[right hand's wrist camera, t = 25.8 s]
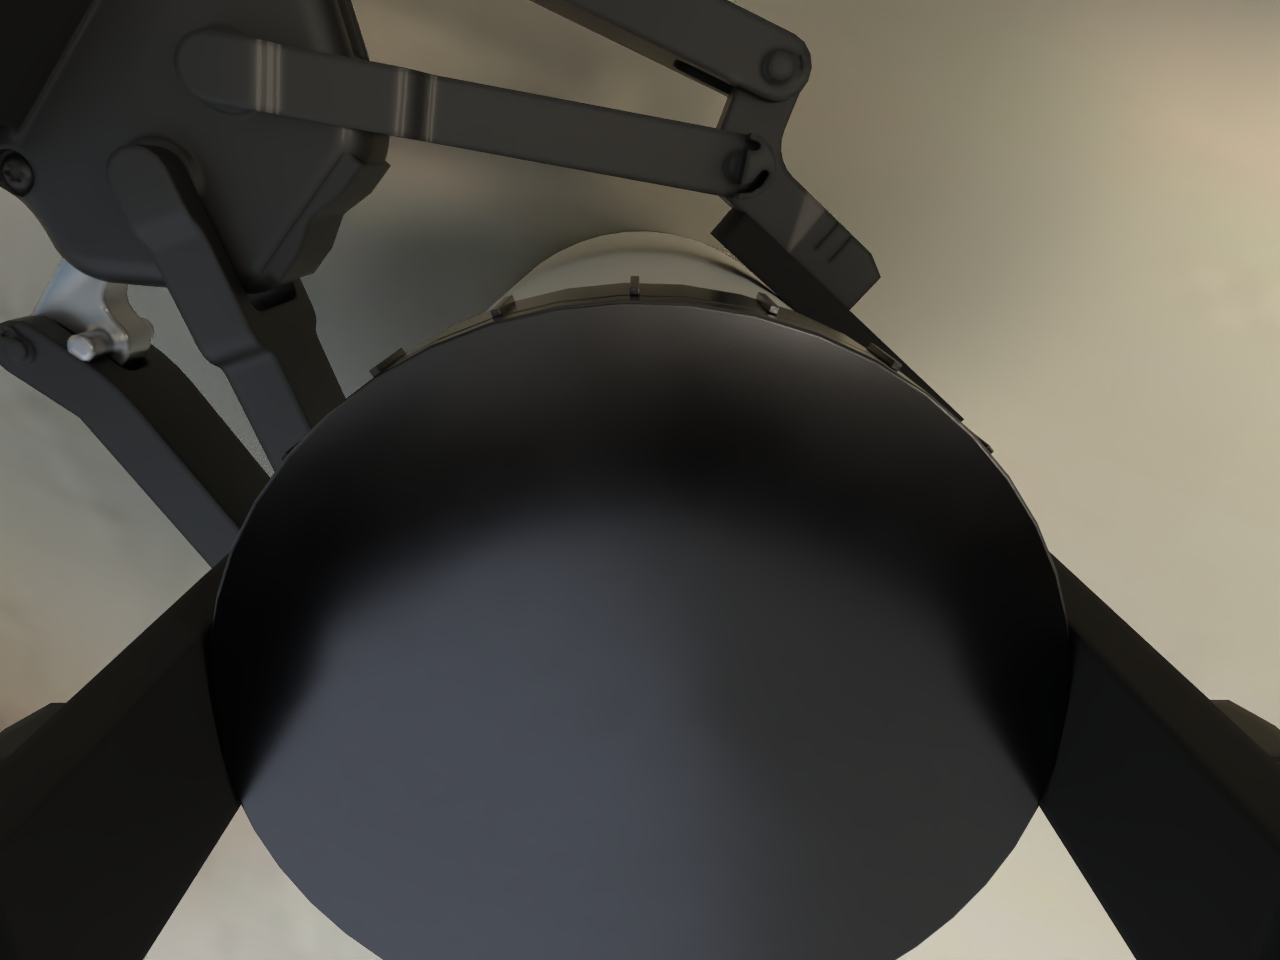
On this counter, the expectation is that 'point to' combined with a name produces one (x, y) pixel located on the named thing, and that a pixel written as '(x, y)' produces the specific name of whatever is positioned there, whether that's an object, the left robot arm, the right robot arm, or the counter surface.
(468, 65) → the counter surface
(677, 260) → the jar
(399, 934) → the lid
